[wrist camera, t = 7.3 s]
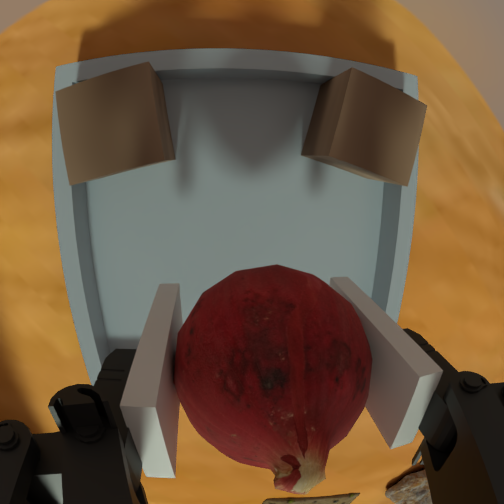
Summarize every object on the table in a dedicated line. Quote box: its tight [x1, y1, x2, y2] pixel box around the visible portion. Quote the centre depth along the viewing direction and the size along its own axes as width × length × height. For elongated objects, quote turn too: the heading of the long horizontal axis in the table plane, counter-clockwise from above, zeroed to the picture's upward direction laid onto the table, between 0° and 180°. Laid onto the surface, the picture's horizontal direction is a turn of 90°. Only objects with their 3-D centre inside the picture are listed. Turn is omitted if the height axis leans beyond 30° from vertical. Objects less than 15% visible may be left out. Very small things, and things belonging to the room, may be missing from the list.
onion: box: [173, 264, 373, 494], centre depth 9 cm, size 6×6×8 cm
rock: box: [385, 469, 432, 504], centre depth 27 cm, size 9×6×10 cm
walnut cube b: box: [301, 67, 427, 187], centre depth 14 cm, size 4×4×4 cm
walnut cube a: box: [55, 61, 176, 186], centre depth 12 cm, size 4×4×4 cm
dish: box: [52, 48, 419, 386], centre depth 16 cm, size 18×18×2 cm
